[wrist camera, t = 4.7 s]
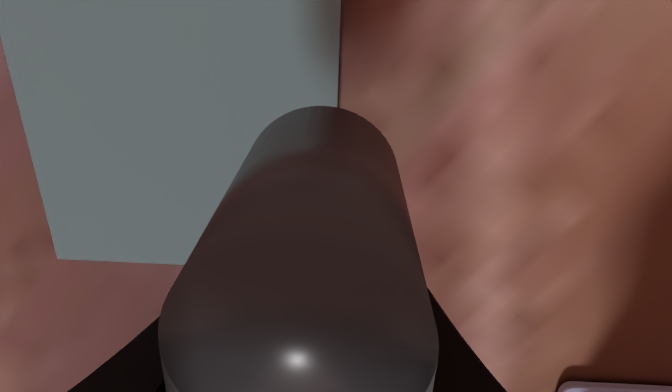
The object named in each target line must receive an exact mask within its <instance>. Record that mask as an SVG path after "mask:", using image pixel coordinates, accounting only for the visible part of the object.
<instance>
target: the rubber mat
mask: <svg viewBox="0 0 672 392" xmlns="http://www.w3.org/2000/svg"><path fill="white" fill-rule="evenodd" d="M340 20H341V0H0V36H1V40H2V44H3V48H4V52H5V56H6V60H7V64H8V68H9V72H10V75H11V79H12V83H13V87H14V91H15V95H16V99H17V103H18V107H19V111H20V114H21V118H22V122H23V126H24V130H25V134H26V138H27V142H28V146H29V150H30V154H31V157H32V161H33V165H34V169H35V173H36V177H37V181H38V185H39V189H40V193H41V196H42V200H43V204H44V208H45V212H46V216H47V220H48V224H49V228H50V232H51V236H52V239H53V243H54V247H55V251H56V255H57V259H71V260H93V261H114V262H136V263H157V264H178V265H185V263H186V261H187V260H188V258H189V256H190V254H191V253H192V251H193V249H194V247H195V246H196V244H197V242H198V240H199V239H200V237H201V235H202V233H203V232H204V230H205V228H206V226H207V225H208V223H209V221H210V219H211V218H212V216H213V214H214V212H215V211H216V209H217V207H218V205H219V204H220V202H221V200H222V198H223V197H224V195H225V193H226V191H227V190H228V188H229V186H230V184H231V183H232V181H233V179H234V177H235V176H236V174H237V172H238V170H239V169H240V167H241V165H242V163H243V162H244V160H245V158H246V156H247V155H248V153H249V151H250V149H251V148H252V146H253V144H254V142H255V141H256V139H257V138H258V136H259V135H260V134H261V132H262V131H263V130H264V129H265V128H266V127H267V126H268V125H269V124H270V123H272V122H273V121H274V120H276V119H277V118H279V117H280V116H282V115H284V114H286V113H288V112H291V111H293V110H296V109H300V108H303V107H310V106H331V107H338V78H339V49H340Z"/></svg>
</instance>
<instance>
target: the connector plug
mask: <svg viewBox="0 0 672 392" xmlns="http://www.w3.org/2000/svg"><path fill="white" fill-rule="evenodd" d="M158 341H159V351H160V357H161V363H162V369H163V375H164V381H165V388H166V392H433V386H434V380H435V374H436V369H437V363H438V353H439V341H438V331H437V327H436V323H435V319H434V315H433V311H432V306H431V302H430V298H429V294H428V290H427V286H426V282H425V278H424V274H423V269H422V265H421V261H420V257H419V253H418V249H417V245H416V241H415V237H414V232H413V228H412V224H411V220H410V216H409V212H408V208H407V204H406V199H405V195H404V191H403V187H402V183H401V179H400V175H399V171H398V167H397V163H396V159H395V156H394V153H393V151H392V148H391V146H390V145H389V143H388V141H387V140H386V138H385V137H384V136H383V135H382V133H381V132H380V131H379V130H378V129H377V128H376V127H375V126H374V125H373V124H371V123H370V122H369V121H367V120H366V119H365V118H363V117H361V116H359V115H357V114H356V113H353V112H351V111H348V110H345V109H341V108H337V107H331V106H310V107H303V108H300V109H296V110H293V111H291V112H288V113H286V114H284V115H282V116H280V117H279V118H277V119H276V120H274V121H273V122H272V123H270V124H269V125H268V126H267V127H266V128H265V129H264V130H263V131H262V132H261V134H260V135H259V136H258V138H257V139H256V141H255V142H254V144H253V146H252V148H251V149H250V151H249V153H248V155H247V156H246V158H245V160H244V162H243V163H242V165H241V167H240V169H239V170H238V172H237V174H236V176H235V177H234V179H233V181H232V183H231V184H230V186H229V188H228V190H227V191H226V193H225V195H224V197H223V198H222V200H221V202H220V204H219V205H218V207H217V209H216V211H215V212H214V214H213V216H212V218H211V219H210V221H209V223H208V225H207V226H206V228H205V230H204V232H203V233H202V235H201V237H200V239H199V240H198V242H197V244H196V246H195V247H194V249H193V251H192V253H191V254H190V256H189V258H188V260H187V261H186V263H185V265H184V267H183V268H182V270H181V272H180V274H179V275H178V277H177V279H176V281H175V282H174V284H173V286H172V288H171V289H170V291H169V293H168V295H167V298H166V300H165V302H164V304H163V307H162V310H161V314H160V318H159V326H158Z"/></svg>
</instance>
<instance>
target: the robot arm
mask: <svg viewBox="0 0 672 392" xmlns="http://www.w3.org/2000/svg"><path fill="white" fill-rule="evenodd" d="M427 290H428V294H429V298H430V302H431V306H432V311H433V315H434V319H435V323H436V327H437V331H438V341H439V353H438V363H437V369H436V374H435V380H434V386H433V392H507V391H506V390H505V389H504V388H503V387H502V386H501V384H500V383H499V382H498V381H497V380H496V379H495V377H494V376H493V375H492V374H491V373H490V371H489V370H488V369H487V368H486V367H485V365H484V364H483V363H482V362H481V360H480V359H479V358H478V357H477V355H476V354H475V353H474V351H473V350H472V349H471V348H470V346H469V345H468V344H467V343H466V341H465V340H464V339H463V337H462V336H461V335H460V333H459V332H458V331H457V329H456V328H455V327H454V325H453V324H452V322H451V321H450V320H449V318H448V317H447V315H446V314H445V313H444V311H443V310H442V308H441V307H440V305H439V304H438V302H437V301H436V299H435V298H434V296H433V295H432V293H431V292H430V290H429V289H428V288H427ZM159 318H160V316H159V317H158V318H157V319H156V320H155V321H154V322H153V323H151V324H150V325H149V326H148V327H147V328H146V329H145V330H143V331H142V332H141V333H140V334H139V335H138V336H137V337H135V338H134V339H133V340H132V341H131V342H130V343H129V344H127V345H126V346H125V347H124V348H123V349H121V350H120V351H119V352H118V353H116V354H115V355H114V356H113V357H111V358H110V359H109V360H108V361H106V362H105V363H104V364H103V365H101V366H100V367H99V368H98V369H96V370H95V371H94V372H93V373H91V374H90V375H89V376H88V377H86V378H85V379H84V380H82V381H81V382H80V383H78V384H77V385H76V386H74V387H73V388H72V389H70V390H69V391H67V392H166V388H165V381H164V375H163V369H162V363H161V357H160V351H159V341H158V326H159ZM558 392H672V386H660V385H640V384H620V383H600V382H580V381H568V382H565V383H563V384H562V385H561V386H560V388H559V390H558Z"/></svg>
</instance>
